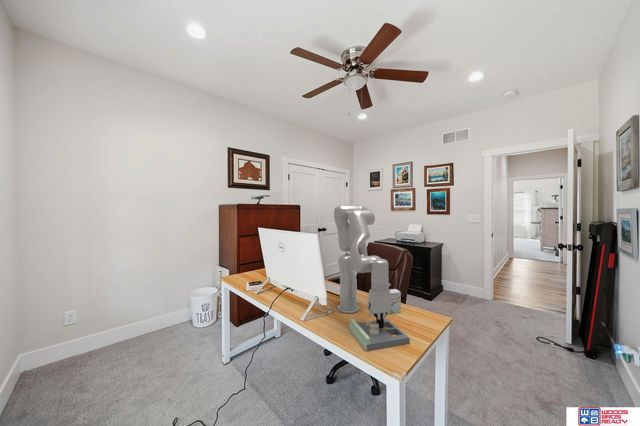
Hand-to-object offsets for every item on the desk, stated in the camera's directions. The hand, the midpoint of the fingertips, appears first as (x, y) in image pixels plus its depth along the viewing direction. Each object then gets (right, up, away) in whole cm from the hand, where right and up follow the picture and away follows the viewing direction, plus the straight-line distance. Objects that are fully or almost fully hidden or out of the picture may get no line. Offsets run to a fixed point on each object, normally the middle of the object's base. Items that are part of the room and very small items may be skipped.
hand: (380, 327), depth 107 cm
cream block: (-4, -2, -1) cm, 4 cm away
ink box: (+13, -4, +25) cm, 29 cm away
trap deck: (-1, -4, 0) cm, 4 cm away
